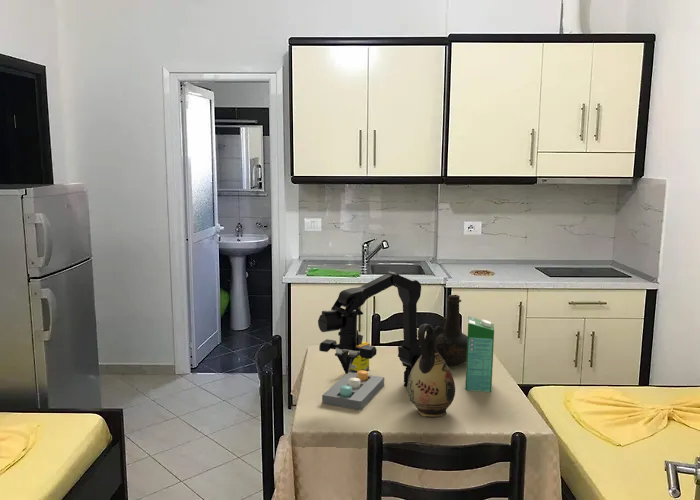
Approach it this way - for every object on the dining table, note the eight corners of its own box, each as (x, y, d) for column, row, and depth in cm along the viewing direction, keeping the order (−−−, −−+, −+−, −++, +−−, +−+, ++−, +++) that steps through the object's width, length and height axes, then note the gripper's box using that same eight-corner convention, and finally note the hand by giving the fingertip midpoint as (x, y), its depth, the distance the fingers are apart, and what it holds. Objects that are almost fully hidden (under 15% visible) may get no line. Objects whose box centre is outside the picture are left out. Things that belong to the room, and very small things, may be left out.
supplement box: (360, 374, 230) (361, 346, 229) (348, 370, 234) (348, 343, 232) (369, 369, 235) (370, 342, 233) (357, 366, 238) (357, 340, 237)
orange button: (369, 380, 219) (369, 371, 218) (365, 384, 215) (365, 374, 215) (359, 378, 220) (359, 369, 220) (355, 382, 217) (355, 373, 216)
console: (384, 385, 219) (384, 377, 219) (361, 410, 197) (361, 401, 197) (348, 379, 224) (348, 371, 224) (322, 403, 202) (322, 395, 202)
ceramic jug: (423, 398, 207) (425, 314, 203) (462, 410, 198) (466, 322, 193) (394, 414, 194) (396, 324, 190) (435, 428, 185) (438, 333, 180)
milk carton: (491, 392, 213) (494, 324, 210) (465, 390, 215) (468, 322, 211) (490, 383, 222) (493, 317, 218) (465, 381, 224) (468, 315, 220)
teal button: (353, 396, 204) (353, 386, 204) (349, 400, 200) (349, 390, 200) (342, 394, 206) (342, 384, 205) (338, 398, 202) (338, 388, 201)
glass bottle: (419, 361, 245) (421, 294, 241) (447, 352, 257) (449, 288, 253) (454, 373, 232) (456, 302, 228) (481, 363, 244) (484, 295, 240)
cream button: (361, 387, 212) (361, 378, 211) (357, 391, 208) (357, 382, 207) (351, 386, 213) (351, 377, 212) (347, 390, 209) (347, 380, 209)
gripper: (382, 326, 205) (381, 370, 207) (332, 319, 212) (331, 362, 214) (371, 334, 194) (369, 380, 197) (319, 326, 201) (318, 371, 203)
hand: (346, 373), depth 203 cm, fingers closed
